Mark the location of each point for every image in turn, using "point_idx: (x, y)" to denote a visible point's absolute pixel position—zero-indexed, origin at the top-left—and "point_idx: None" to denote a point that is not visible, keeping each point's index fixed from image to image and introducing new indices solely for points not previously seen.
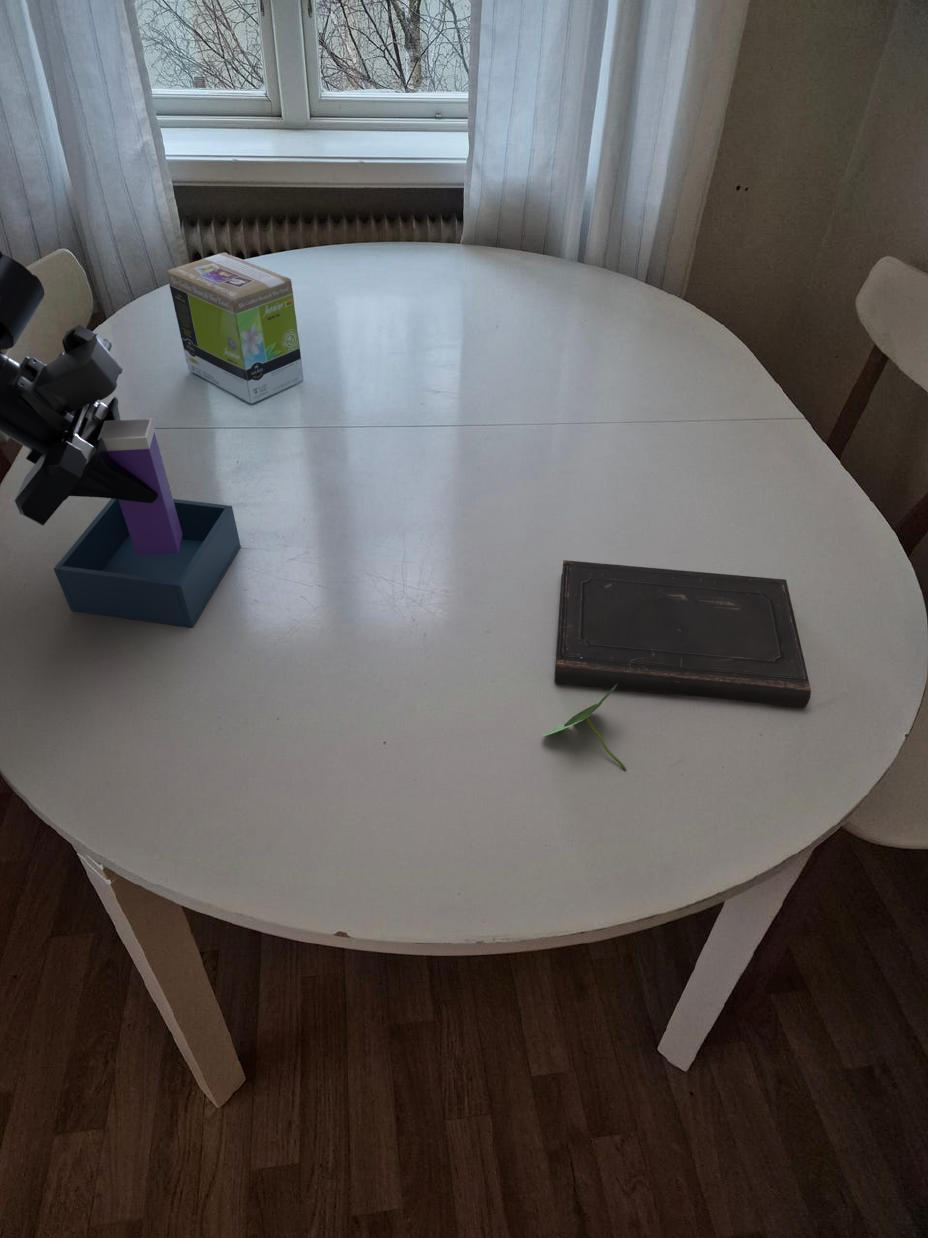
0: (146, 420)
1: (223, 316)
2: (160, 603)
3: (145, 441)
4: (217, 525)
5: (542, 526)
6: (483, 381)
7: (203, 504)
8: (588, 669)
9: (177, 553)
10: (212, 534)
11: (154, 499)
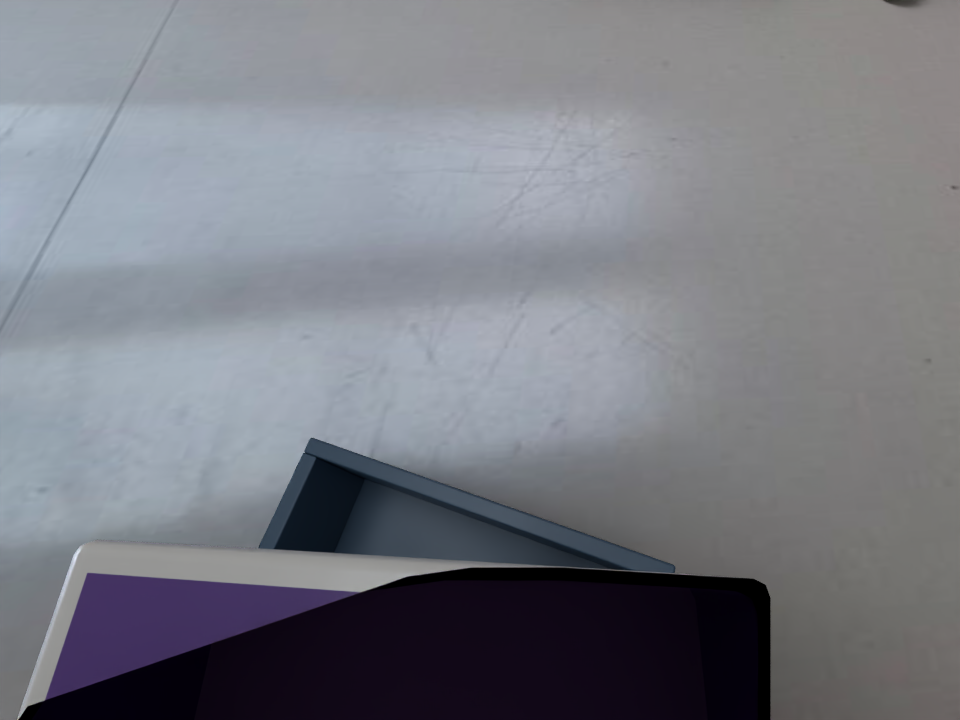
0: (102, 645)
1: None
2: None
3: (764, 619)
4: (393, 472)
5: (422, 7)
6: (17, 74)
7: (281, 522)
8: None
9: None
10: (433, 484)
11: None
